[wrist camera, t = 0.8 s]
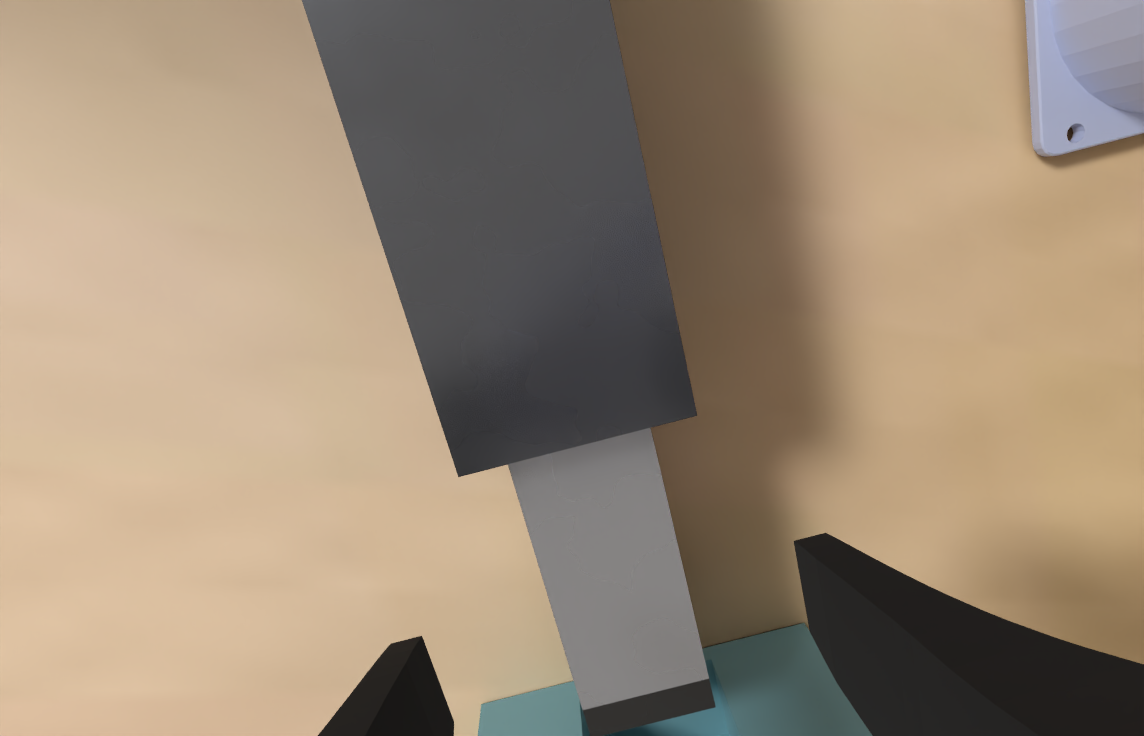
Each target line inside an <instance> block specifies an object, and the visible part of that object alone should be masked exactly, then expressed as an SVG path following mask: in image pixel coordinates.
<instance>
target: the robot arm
mask: <svg viewBox="0 0 1144 736" xmlns="http://www.w3.org/2000/svg"><path fill="white" fill-rule="evenodd" d="M1025 11H1026V30H1027V49H1028V68H1029V87H1030V106H1031V125H1032V143H1033V147H1034V150H1035V151H1036V153H1037V154H1038V155H1041V156H1043V157H1047V156H1058V155H1062V154H1066V153H1070V152H1074V151H1077V150H1081V149H1085V148H1089V147H1093V146H1097V145H1100V144H1104V143H1108V142H1112V141H1116V140H1120V139H1124V138H1127V137H1131V136H1135V135H1139V134H1143V133H1144V0H1025ZM1070 127H1071V128H1072V130H1073V137H1072V139H1071V140H1070V141H1069V140H1068V138H1067V132H1068V129H1069V128H1070ZM794 545H795V551H796V556H797V562H798V568H799V573H800V579H801V585H802V590H803V596H804V601H805V607H806V613H807V618H808V624H809V629H810V633H811V635H812V637H813V639H814V641H815V643H816V645H817V647H818V649H819V651H820V652H821V654H822V656H823V658H824V660H825V662H826V664H827V666H828V668H829V669H830V671H831V673H832V675H833V677H834V679H835V681H836V682H837V684H838V685H839V687H840V689H841V690H842V692H843V693H844V695H845V696H846V697H847V699H848V700H849V702H850V703H851V705H852V706H853V708H854V709H855V711H856V712H857V714H858V715H859V717H860V718H861V720H862V721H863V723H864V724H865V725H866V727H867V728H868V730H869V731H870V733H871V734H872V736H1144V664H1140V663H1136V662H1133V661H1130V660H1126V659H1123V658H1119V657H1116V656H1113V655H1109V654H1106V653H1102V652H1099V651H1095V650H1092V649H1089V648H1085V647H1082V646H1079V645H1076V644H1073V643H1070V642H1067V641H1064V640H1060V639H1057V638H1054V637H1052V636H1049V635H1046V634H1043V633H1041V632H1038V631H1035V630H1032V629H1030V628H1027V627H1024V626H1021V625H1019V624H1016V623H1013V622H1010V621H1008V620H1005V619H1003V618H1000V617H998V616H995V615H993V614H990V613H988V612H985V611H983V610H980V609H978V608H976V607H974V606H971V605H969V604H967V603H964V602H962V601H960V600H958V599H955V598H953V597H951V596H948V595H946V594H944V593H942V592H940V591H938V590H936V589H933V588H931V587H929V586H927V585H925V584H923V583H921V582H919V581H917V580H915V579H913V578H911V577H909V576H907V575H905V574H903V573H901V572H899V571H897V570H895V569H893V568H891V567H889V566H887V565H885V564H883V563H882V562H880V561H878V560H876V559H874V558H872V557H870V556H868V555H867V554H865V553H863V552H861V551H859V550H857V549H855V548H854V547H852V546H850V545H848V544H846V543H844V542H842V541H840V540H839V539H837V538H835V537H833V536H831V535H829V534H827V533H823V534H819V535H815V536H811V537H808V538H804V539H800V540H796V541H794ZM318 736H454V721H453V718H452V715H451V713H450V710H449V707H448V705H447V702H446V699H445V697H444V694H443V691H442V689H441V686H440V683H439V680H438V678H437V675H436V672H435V670H434V667H433V664H432V662H431V659H430V656H429V654H428V651H427V648H426V646H425V643H424V640H423V638H422V636H420V637H416V638H412V639H408V640H404V641H400V642H396V643H392V644H390V645H389V647H388V648H387V649H386V650H385V651H384V652H383V654H382V655H381V656H380V657H379V658H378V660H377V661H376V662H375V664H374V665H373V666H372V667H371V669H370V670H369V671H368V672H367V674H366V675H365V676H364V678H363V679H362V680H361V682H360V683H359V684H358V685H357V687H356V688H355V689H354V691H353V692H352V693H351V694H350V696H349V697H348V698H347V700H346V701H345V702H344V703H343V705H342V706H341V707H340V708H339V710H338V711H337V712H336V713H335V715H334V716H333V717H332V719H331V720H330V721H329V722H328V724H327V725H326V726H325V727H324V729H323V730H322V731H321V732H320V734H319V735H318Z"/></svg>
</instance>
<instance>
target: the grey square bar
mask: <svg viewBox="0 0 1144 736" xmlns="http://www.w3.org/2000/svg"><path fill="white" fill-rule="evenodd" d="M508 466H509V469H510V473H511V476H512V479H513V483H514V486H515V489H516V492H517V496H518V499H519V502H520V506H521V509H522V512H523V515H524V519H525V522H526V525H527V529H528V532H529V535H530V539H531V542H532V545H533V548H534V552H535V555H536V558H537V562H538V565H539V568H540V571H541V575H542V578H543V581H544V585H545V588H546V591H547V594H548V598H549V601H550V604H551V608H552V611H553V614H554V618H555V621H556V624H557V627H558V631H559V634H560V637H561V641H562V644H563V647H564V650H565V654H566V657H567V660H568V664H569V667H570V670H571V673H572V677H573V680H574V683H575V687H576V690H577V693H578V697H579V700H580V703H581V706H582V710H583V713H584V716H585V720H586V723H587V726H588V729H589V733H590V736H603V735H607V734H611V733H615V732H619V731H623V730H627V729H631V728H635V727H639V726H643V725H647V724H651V723H655V722H659V721H663V720H667V719H671V718H675V717H679V716H683V715H687V714H691V713H695V712H699V711H703V710H707V709H711V708H715V707H716V706H715V701H714V697H713V693H712V689H711V684H710V680H709V676H708V671H707V667H706V663H705V659H704V654H703V650H702V646H701V642H700V637H699V633H698V629H697V624H696V620H695V616H694V612H693V607H692V603H691V599H690V594H689V590H688V586H687V582H686V577H685V573H684V569H683V565H682V560H681V556H680V552H679V547H678V543H677V539H676V535H675V530H674V526H673V522H672V517H671V513H670V509H669V505H668V500H667V496H666V492H665V488H664V483H663V479H662V475H661V470H660V466H659V462H658V458H657V453H656V449H655V445H654V440H653V436H652V432H651V428H647V429H643V430H639V431H635V432H632V433H628V434H624V435H620V436H616V437H612V438H608V439H604V440H600V441H597V442H593V443H589V444H585V445H581V446H577V447H573V448H569V449H565V450H562V451H558V452H554V453H550V454H546V455H542V456H538V457H534V458H530V459H527V460H523V461H519V462H515V463H511V464H508Z"/></svg>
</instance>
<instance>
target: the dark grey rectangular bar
mask: <svg viewBox="0 0 1144 736" xmlns="http://www.w3.org/2000/svg"><path fill="white" fill-rule="evenodd" d="M302 2H303V5H304V8H305V11H306V14H307V17H308V20H309V23H310V26H311V29H312V32H313V36H314V39H315V42H316V45H317V48H318V51H319V54H320V57H321V60H322V63H323V66H324V69H325V72H326V75H327V78H328V81H329V84H330V87H331V90H332V93H333V96H334V99H335V102H336V105H337V109H338V112H339V115H340V118H341V121H342V124H343V127H344V130H345V133H346V136H347V139H348V142H349V145H350V148H351V151H352V154H353V157H354V160H355V163H356V166H357V169H358V172H359V175H360V179H361V182H362V185H363V188H364V191H365V194H366V197H367V200H368V203H369V206H370V209H371V212H372V215H373V218H374V221H375V224H376V227H377V230H378V233H379V236H380V239H381V242H382V245H383V249H384V252H385V255H386V258H387V261H388V264H389V267H390V270H391V273H392V276H393V279H394V282H395V285H396V288H397V291H398V294H399V297H400V300H401V303H402V306H403V309H404V312H405V315H406V319H407V322H408V325H409V328H410V331H411V334H412V337H413V340H414V343H415V346H416V349H417V352H418V355H419V358H420V361H421V364H422V367H423V370H424V373H425V376H426V379H427V382H428V385H429V388H430V392H431V395H432V398H433V401H434V404H435V407H436V410H437V413H438V416H439V419H440V422H441V425H442V428H443V431H444V434H445V437H446V440H447V443H448V446H449V449H450V452H451V455H452V458H453V462H454V465H455V468H456V471H457V474H458V477H460V476H464V475H468V474H472V473H476V472H480V471H484V470H488V469H492V468H495V467H499V466H503V465H507V464H511V463H515V462H519V461H523V460H527V459H530V458H534V457H538V456H542V455H546V454H550V453H554V452H558V451H562V450H565V449H569V448H573V447H577V446H581V445H585V444H589V443H593V442H597V441H600V440H604V439H608V438H612V437H616V436H620V435H624V434H628V433H632V432H635V431H639V430H643V429H647V428H651V427H655V426H659V425H663V424H667V423H670V422H674V421H678V420H682V419H686V418H690V417H694V416H697V412H696V407H695V403H694V398H693V393H692V388H691V384H690V379H689V374H688V370H687V365H686V360H685V355H684V351H683V346H682V341H681V336H680V332H679V327H678V322H677V317H676V313H675V308H674V303H673V299H672V294H671V289H670V284H669V280H668V275H667V270H666V265H665V261H664V256H663V251H662V247H661V242H660V237H659V232H658V228H657V223H656V218H655V213H654V209H653V204H652V199H651V194H650V190H649V185H648V180H647V176H646V171H645V166H644V161H643V157H642V152H641V147H640V142H639V138H638V133H637V128H636V123H635V119H634V114H633V109H632V105H631V100H630V95H629V90H628V86H627V81H626V76H625V71H624V67H623V62H622V57H621V52H620V48H619V43H618V38H617V34H616V29H615V24H614V19H613V15H612V10H611V5H610V0H302Z"/></svg>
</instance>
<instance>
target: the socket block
mask: <svg viewBox="0 0 1144 736" xmlns="http://www.w3.org/2000/svg"><path fill="white" fill-rule="evenodd" d="M702 650H703V654H704V659H705V663H706V667H707V671H708V676H709V680H710V684H711V689H712V693H713V697H714V701H715V706H716V707H715V708H711V709H707V710H703V711H699V712H695V713H691V714H687V715H683V716H679V717H675V718H671V719H667V720H663V721H659V722H655V723H651V724H647V725H643V726H639V727H635V728H631V729H627V730H623V731H619V732H615V733H611V734H607V735H603V736H872V734H871V733H870V731H869V730H868V728H867V727H866V725H865V724H864V723H863V721H862V720H861V718H860V717H859V715H858V714H857V712H856V711H855V709H854V708H853V706H852V705H851V703H850V702H849V700H848V699H847V697H846V696H845V695H844V693H843V692H842V690H841V689H840V687H839V685H838V684H837V682H836V681H835V679H834V677H833V675H832V673H831V671H830V669H829V668H828V666H827V664H826V662H825V660H824V658H823V656H822V654H821V652H820V651H819V649H818V647H817V645H816V643H815V641H814V639H813V637H812V635H811V633H810V631H809V630H808V628H807V627H806V625H805V623H802V624H798V625H794V626H790V627H786V628H782V629H778V630H774V631H770V632H766V633H762V634H758V635H754V636H750V637H746V638H742V639H738V640H734V641H730V642H726V643H722V644H718V645H714V646H710V647H706V648H702ZM478 736H590V733H589V729H588V726H587V723H586V720H585V716H584V713H583V710H582V706H581V703H580V700H579V697H578V693H577V690H576V687H575V683H574V681H572V682H568V683H564V684H560V685H556V686H552V687H548V688H544V689H540V690H536V691H532V692H528V693H524V694H520V695H516V696H512V697H508V698H504V699H500V700H496V701H492V702H488V703H484V704H481V713H480V721H479V730H478Z"/></svg>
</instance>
